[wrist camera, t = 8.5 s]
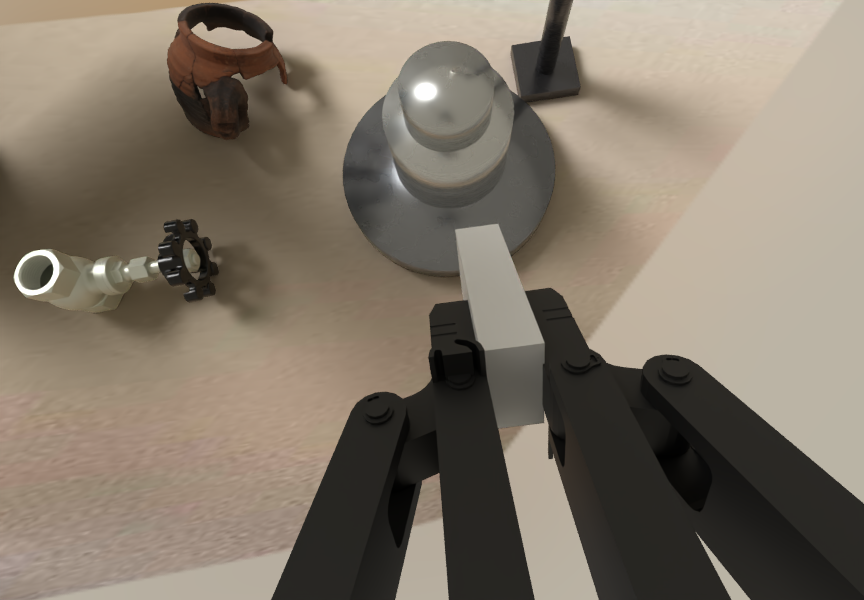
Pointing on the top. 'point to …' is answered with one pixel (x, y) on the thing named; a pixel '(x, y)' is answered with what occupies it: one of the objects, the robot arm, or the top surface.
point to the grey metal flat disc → (435, 227)
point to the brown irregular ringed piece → (218, 68)
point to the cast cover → (448, 125)
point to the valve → (117, 272)
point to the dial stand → (547, 59)
